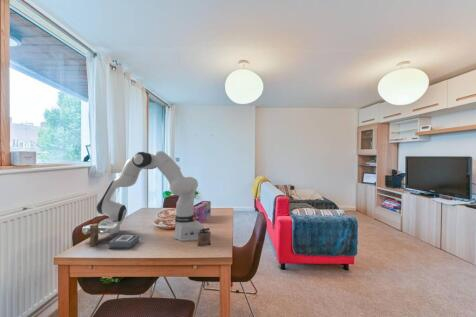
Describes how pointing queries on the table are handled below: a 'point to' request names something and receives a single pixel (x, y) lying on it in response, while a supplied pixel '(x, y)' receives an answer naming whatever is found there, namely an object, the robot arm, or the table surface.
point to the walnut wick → (93, 234)
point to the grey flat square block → (124, 242)
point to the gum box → (202, 211)
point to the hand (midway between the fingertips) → (93, 233)
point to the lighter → (204, 237)
